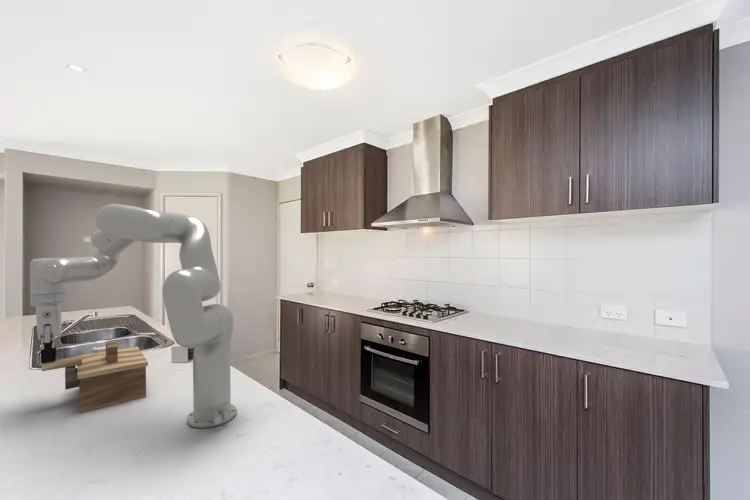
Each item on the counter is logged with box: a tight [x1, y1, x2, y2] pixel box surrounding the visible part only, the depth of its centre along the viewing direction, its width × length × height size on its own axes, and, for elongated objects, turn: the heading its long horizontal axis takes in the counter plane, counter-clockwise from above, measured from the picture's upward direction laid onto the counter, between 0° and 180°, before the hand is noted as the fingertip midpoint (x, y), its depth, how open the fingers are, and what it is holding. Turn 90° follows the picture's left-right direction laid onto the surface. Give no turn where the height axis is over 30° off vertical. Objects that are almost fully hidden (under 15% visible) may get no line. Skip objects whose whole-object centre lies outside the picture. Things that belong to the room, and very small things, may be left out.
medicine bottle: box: [171, 341, 195, 364], centre depth 146 cm, size 7×7×12 cm
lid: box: [76, 340, 149, 379], centre depth 113 cm, size 23×17×6 cm
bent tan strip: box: [40, 339, 82, 372], centre depth 105 cm, size 3×9×8 cm, turn 131°
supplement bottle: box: [92, 339, 108, 354], centre depth 138 cm, size 6×6×10 cm
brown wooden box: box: [64, 365, 147, 414], centre depth 112 cm, size 22×19×11 cm
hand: (48, 359), depth 103 cm, fingers closed on bent tan strip, 3 cm apart
